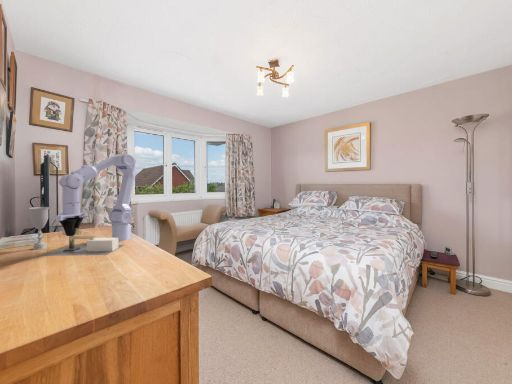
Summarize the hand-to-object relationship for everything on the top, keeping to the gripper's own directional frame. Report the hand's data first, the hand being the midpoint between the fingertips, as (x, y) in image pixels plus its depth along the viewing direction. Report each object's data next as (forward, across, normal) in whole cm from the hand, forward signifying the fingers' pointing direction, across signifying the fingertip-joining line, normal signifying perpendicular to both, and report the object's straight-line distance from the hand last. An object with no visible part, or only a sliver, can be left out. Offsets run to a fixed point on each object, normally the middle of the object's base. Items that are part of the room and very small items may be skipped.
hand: (71, 235), depth 96 cm
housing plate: (+7, 0, +6) cm, 9 cm away
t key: (+5, 0, +3) cm, 6 cm away
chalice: (+7, -7, -18) cm, 21 cm away
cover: (+6, 0, +12) cm, 14 cm away
